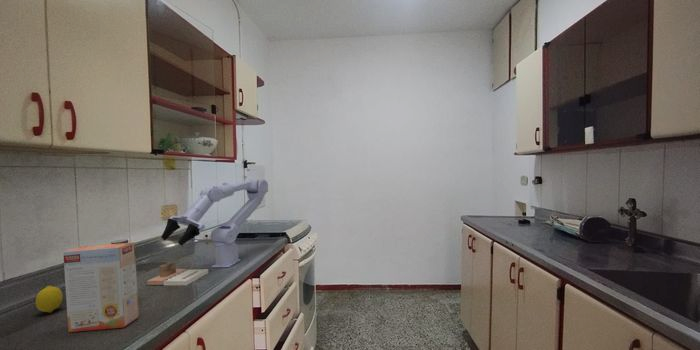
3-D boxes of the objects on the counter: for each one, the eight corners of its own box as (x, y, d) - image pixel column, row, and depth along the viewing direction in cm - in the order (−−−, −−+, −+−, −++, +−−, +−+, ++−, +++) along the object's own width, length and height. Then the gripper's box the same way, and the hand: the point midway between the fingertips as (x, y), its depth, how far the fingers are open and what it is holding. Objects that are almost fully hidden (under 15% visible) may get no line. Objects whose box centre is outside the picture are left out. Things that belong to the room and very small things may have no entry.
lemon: (60, 306, 88) (58, 281, 87) (66, 310, 85) (64, 283, 85) (33, 315, 83) (32, 288, 83) (39, 319, 80) (37, 291, 80)
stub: (173, 272, 113) (172, 259, 113) (187, 272, 112) (186, 259, 112) (147, 284, 102) (146, 269, 101) (162, 284, 101) (162, 269, 101)
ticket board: (187, 273, 112) (187, 269, 112) (208, 273, 111) (208, 269, 111) (163, 285, 101) (163, 280, 101) (186, 285, 99) (186, 280, 99)
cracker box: (140, 316, 77) (135, 241, 77) (123, 328, 71) (118, 247, 71) (88, 320, 77) (83, 244, 77) (67, 333, 71) (61, 250, 71)
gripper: (176, 201, 109) (149, 230, 101) (207, 210, 106) (182, 240, 97) (184, 212, 114) (159, 240, 106) (214, 221, 111) (191, 250, 102)
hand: (171, 241), depth 102 cm, fingers open, 7 cm apart
